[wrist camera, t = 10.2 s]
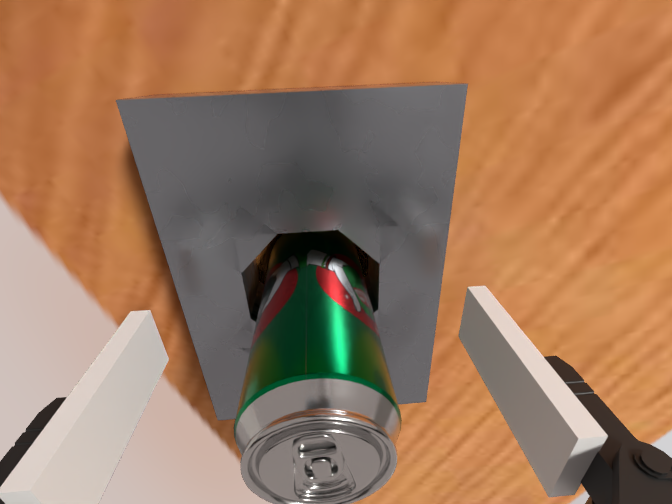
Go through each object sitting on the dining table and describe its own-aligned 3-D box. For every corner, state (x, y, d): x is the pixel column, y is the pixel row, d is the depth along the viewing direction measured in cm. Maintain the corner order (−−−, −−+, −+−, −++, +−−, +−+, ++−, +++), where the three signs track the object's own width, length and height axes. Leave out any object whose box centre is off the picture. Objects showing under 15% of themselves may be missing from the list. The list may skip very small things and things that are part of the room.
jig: (155, 94, 15) (115, 100, 12) (436, 81, 16) (467, 83, 13) (229, 375, 24) (217, 420, 21) (411, 360, 24) (425, 402, 21)
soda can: (280, 298, 21) (250, 527, 10) (262, 225, 19) (200, 425, 8) (360, 287, 21) (412, 504, 10) (352, 212, 19) (410, 395, 8)
